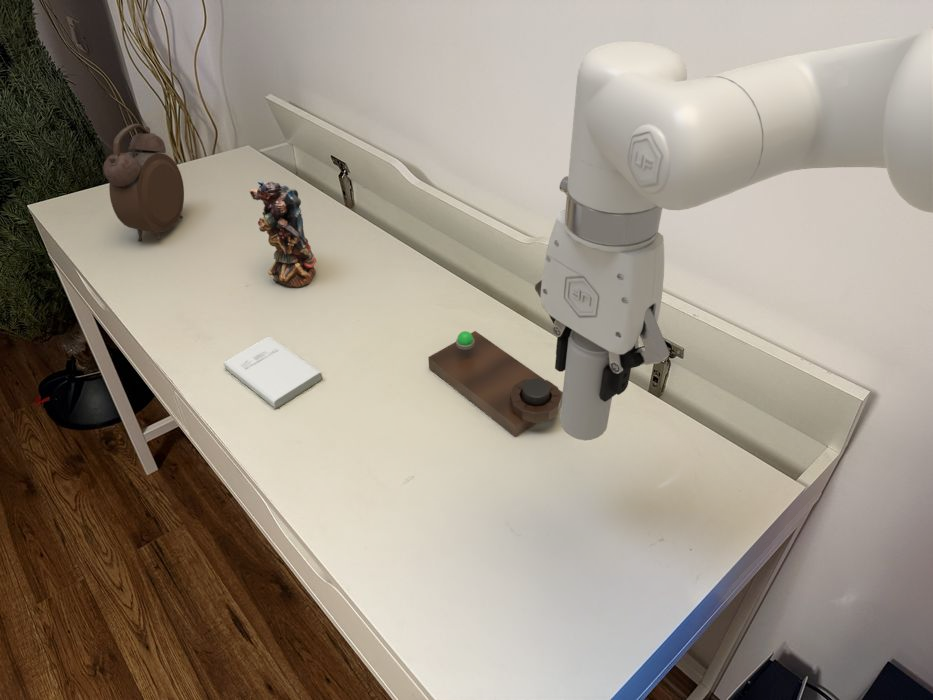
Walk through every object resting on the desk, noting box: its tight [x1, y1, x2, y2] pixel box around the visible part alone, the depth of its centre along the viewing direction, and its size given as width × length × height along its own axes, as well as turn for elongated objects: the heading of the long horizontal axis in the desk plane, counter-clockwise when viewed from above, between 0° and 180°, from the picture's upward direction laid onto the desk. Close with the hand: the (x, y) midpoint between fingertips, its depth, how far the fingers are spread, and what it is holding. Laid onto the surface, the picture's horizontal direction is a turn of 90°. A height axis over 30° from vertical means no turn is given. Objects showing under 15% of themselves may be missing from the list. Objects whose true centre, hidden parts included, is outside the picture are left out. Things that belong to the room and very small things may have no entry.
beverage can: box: [559, 330, 613, 441], centre depth 68 cm, size 5×5×12 cm
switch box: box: [427, 330, 563, 438], centre depth 96 cm, size 20×9×4 cm, turn 41°
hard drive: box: [223, 336, 323, 409], centre depth 100 cm, size 2×8×12 cm
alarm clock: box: [102, 123, 185, 242], centre depth 126 cm, size 15×7×20 cm, turn 169°
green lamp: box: [455, 330, 475, 350], centre depth 98 cm, size 3×3×2 cm
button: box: [522, 378, 550, 407], centre depth 90 cm, size 4×4×2 cm
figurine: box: [249, 180, 317, 288], centre depth 113 cm, size 11×9×18 cm
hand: (589, 377), depth 67 cm, fingers closed on beverage can, 4 cm apart
